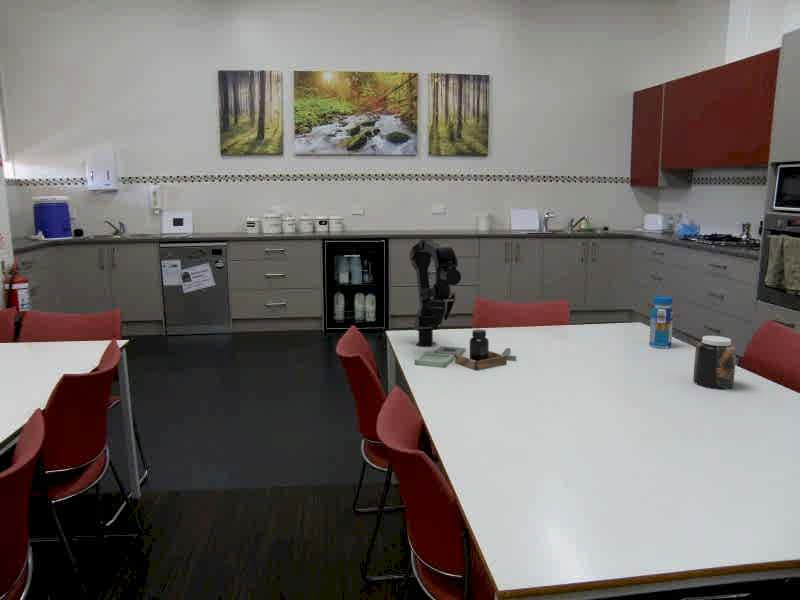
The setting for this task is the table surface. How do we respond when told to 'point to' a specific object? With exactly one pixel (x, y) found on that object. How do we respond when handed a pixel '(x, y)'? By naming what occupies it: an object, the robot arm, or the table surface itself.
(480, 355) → the supplement bottle
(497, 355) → the u-shaped bracket
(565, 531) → the table surface
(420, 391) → the table surface
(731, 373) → the jar
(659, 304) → the beverage bottle
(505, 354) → the crook tool
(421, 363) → the tray
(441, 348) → the hole plate
